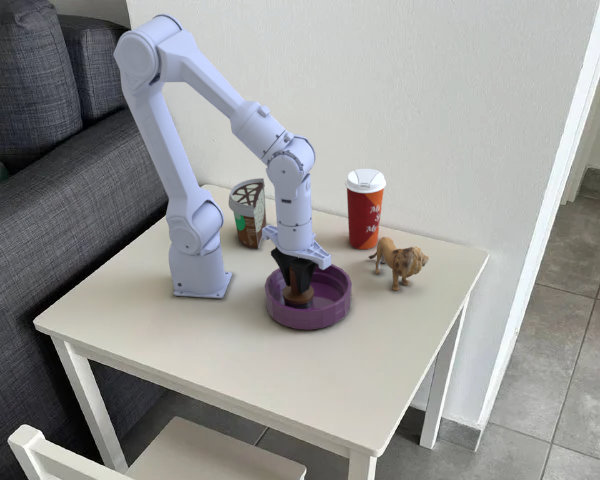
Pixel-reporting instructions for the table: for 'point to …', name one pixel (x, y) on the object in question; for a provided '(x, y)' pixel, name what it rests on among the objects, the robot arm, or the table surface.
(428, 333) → the table surface
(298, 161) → the robot arm
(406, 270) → the lion figurine
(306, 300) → the brown stamp
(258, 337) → the table surface
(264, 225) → the food container
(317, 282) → the bowl
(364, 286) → the table surface
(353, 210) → the paper cup
